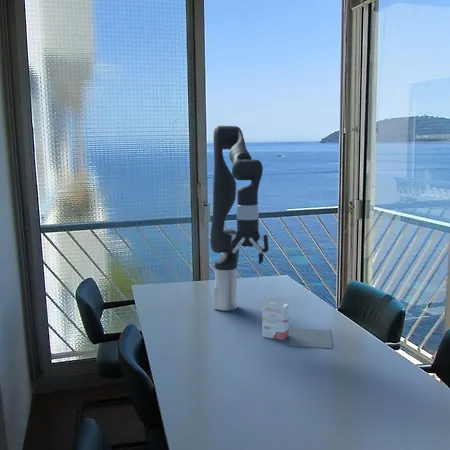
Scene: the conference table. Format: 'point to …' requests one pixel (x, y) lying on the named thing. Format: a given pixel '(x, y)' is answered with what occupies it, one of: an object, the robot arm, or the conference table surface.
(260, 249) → the robot arm
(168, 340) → the conference table surface
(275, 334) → the ink cartridge box
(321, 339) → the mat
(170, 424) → the conference table surface
